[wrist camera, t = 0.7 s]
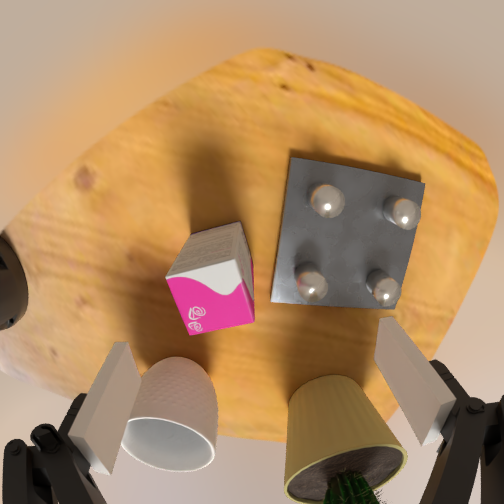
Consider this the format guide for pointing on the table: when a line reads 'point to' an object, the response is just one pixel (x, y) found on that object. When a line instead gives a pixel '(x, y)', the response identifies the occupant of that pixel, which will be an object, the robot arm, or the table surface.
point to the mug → (173, 417)
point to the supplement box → (214, 280)
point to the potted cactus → (337, 445)
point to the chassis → (344, 236)
